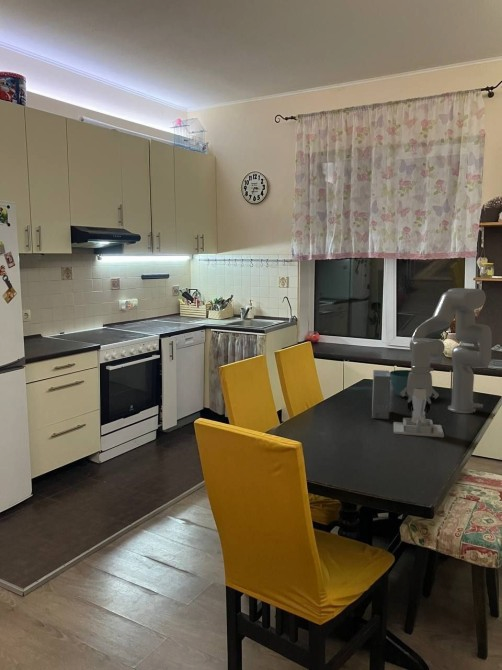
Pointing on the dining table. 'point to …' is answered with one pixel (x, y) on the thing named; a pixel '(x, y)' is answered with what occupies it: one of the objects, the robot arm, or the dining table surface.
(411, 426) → the tray
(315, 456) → the dining table surface
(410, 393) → the robot arm
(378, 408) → the hard drive box
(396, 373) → the teal bowl
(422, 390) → the beer glass
